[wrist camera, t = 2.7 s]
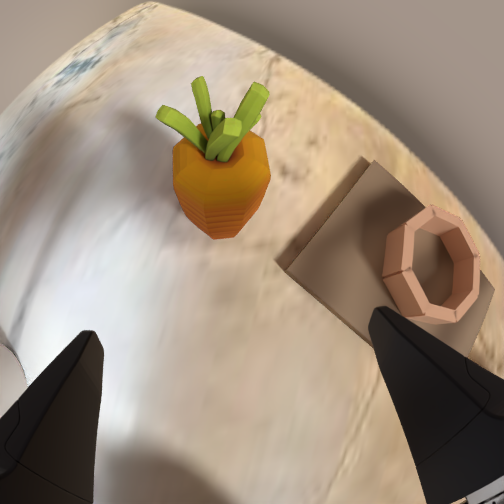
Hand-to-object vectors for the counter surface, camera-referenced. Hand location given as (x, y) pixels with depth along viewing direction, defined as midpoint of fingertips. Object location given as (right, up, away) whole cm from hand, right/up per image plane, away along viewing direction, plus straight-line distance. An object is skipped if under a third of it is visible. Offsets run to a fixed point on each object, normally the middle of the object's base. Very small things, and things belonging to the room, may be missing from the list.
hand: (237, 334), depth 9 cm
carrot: (-2, +4, +15) cm, 16 cm away
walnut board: (+15, -1, +15) cm, 21 cm away
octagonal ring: (+16, +1, +16) cm, 22 cm away
